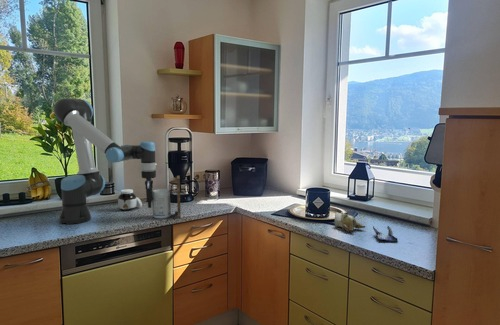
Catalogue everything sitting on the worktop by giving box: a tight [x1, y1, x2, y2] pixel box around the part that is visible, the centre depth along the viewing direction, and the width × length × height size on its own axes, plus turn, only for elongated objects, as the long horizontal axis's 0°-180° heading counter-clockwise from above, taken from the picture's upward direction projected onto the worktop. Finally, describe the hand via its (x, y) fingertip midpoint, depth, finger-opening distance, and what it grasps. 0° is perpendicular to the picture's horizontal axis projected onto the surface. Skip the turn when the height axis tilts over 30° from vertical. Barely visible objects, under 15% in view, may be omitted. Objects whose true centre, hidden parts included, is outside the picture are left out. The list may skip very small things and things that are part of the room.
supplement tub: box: [152, 188, 172, 219], centre depth 203 cm, size 10×10×15 cm
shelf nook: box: [169, 175, 182, 220], centre depth 204 cm, size 5×10×22 cm, turn 11°
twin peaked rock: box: [372, 225, 398, 243], centre depth 168 cm, size 12×7×12 cm
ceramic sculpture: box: [334, 211, 366, 232], centre depth 182 cm, size 11×9×15 cm
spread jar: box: [117, 188, 143, 212], centre depth 221 cm, size 12×11×12 cm
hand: (150, 213), depth 202 cm, fingers closed
